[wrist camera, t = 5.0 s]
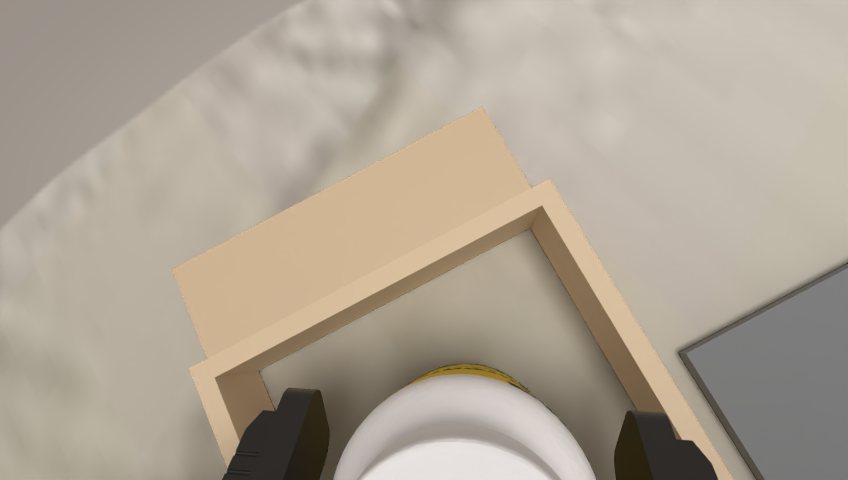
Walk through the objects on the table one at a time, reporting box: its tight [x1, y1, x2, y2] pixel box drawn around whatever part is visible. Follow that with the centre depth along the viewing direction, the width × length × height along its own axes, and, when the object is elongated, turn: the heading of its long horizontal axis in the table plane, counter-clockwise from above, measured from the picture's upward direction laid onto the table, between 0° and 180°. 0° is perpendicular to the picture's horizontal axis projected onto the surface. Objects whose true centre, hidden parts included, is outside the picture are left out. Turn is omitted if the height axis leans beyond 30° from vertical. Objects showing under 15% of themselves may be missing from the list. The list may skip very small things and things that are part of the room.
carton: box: [172, 106, 734, 480], centre depth 15 cm, size 12×18×3 cm, turn 27°
